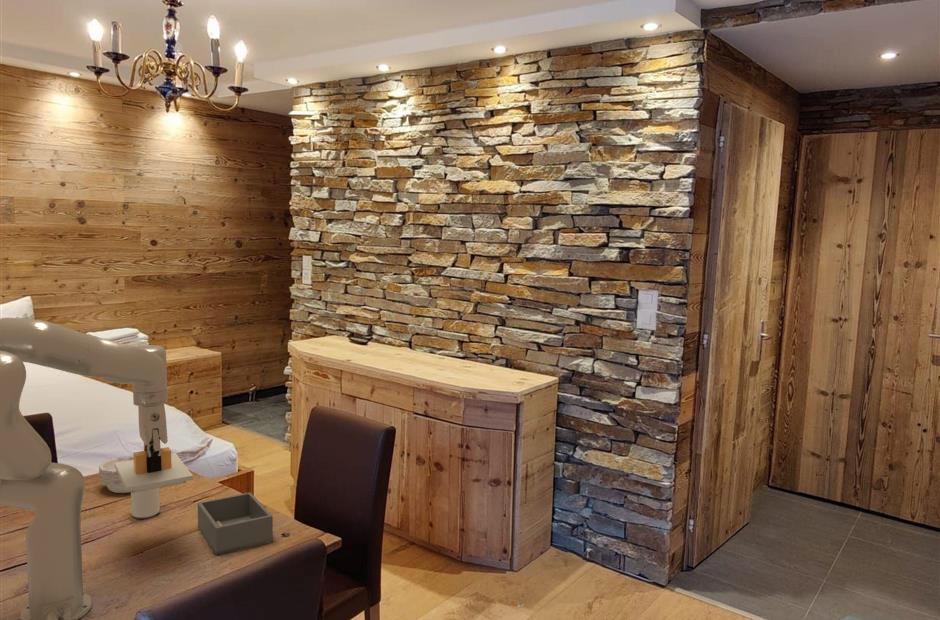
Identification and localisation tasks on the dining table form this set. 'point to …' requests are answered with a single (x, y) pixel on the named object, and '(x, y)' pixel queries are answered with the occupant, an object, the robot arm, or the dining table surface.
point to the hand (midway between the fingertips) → (152, 468)
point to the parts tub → (234, 523)
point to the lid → (141, 480)
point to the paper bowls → (112, 475)
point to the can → (145, 503)
